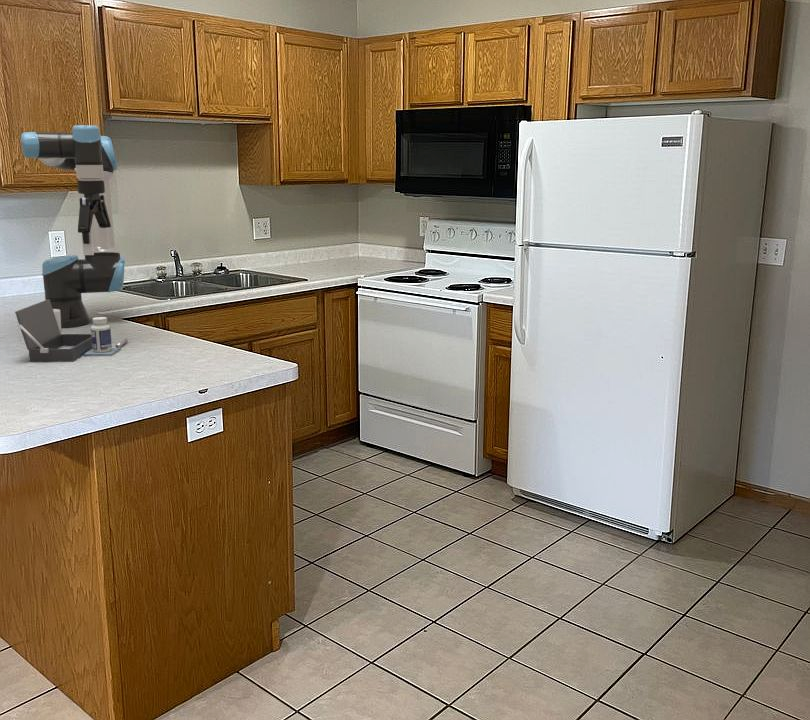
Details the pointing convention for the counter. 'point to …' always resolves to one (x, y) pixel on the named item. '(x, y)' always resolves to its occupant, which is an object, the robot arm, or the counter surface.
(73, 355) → the case
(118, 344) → the rod
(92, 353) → the mat
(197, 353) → the counter surface
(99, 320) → the pill bottle
